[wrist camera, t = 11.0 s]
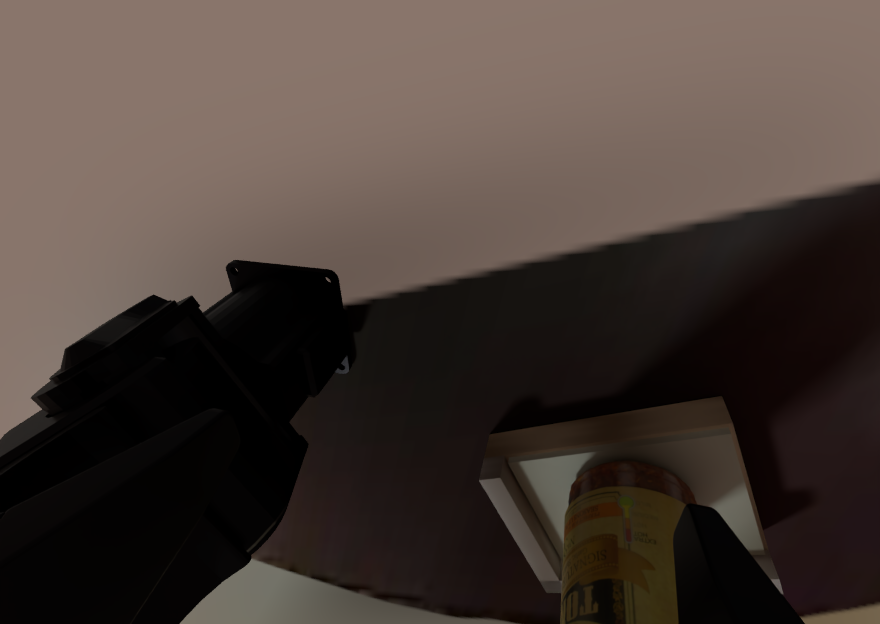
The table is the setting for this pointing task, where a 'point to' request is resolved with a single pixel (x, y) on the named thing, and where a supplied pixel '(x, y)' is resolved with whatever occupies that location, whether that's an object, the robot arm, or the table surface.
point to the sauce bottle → (622, 545)
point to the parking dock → (614, 439)
